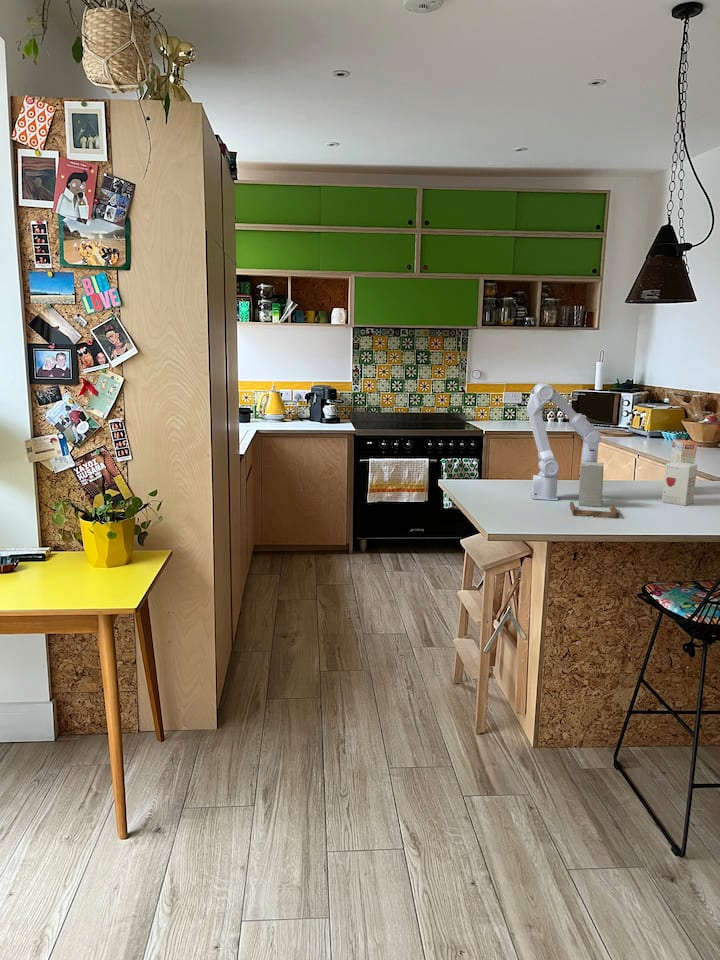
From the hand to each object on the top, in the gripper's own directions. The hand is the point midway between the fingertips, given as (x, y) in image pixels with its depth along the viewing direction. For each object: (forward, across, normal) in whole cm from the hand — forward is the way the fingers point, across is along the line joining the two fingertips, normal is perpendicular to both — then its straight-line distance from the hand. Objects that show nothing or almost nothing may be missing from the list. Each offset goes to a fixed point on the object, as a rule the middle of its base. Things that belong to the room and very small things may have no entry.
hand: (586, 495), depth 273 cm
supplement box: (+2, +5, -34) cm, 34 cm away
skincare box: (+2, -10, 0) cm, 10 cm away
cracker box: (+2, +29, -40) cm, 49 cm away
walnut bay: (+2, -23, 0) cm, 23 cm away
